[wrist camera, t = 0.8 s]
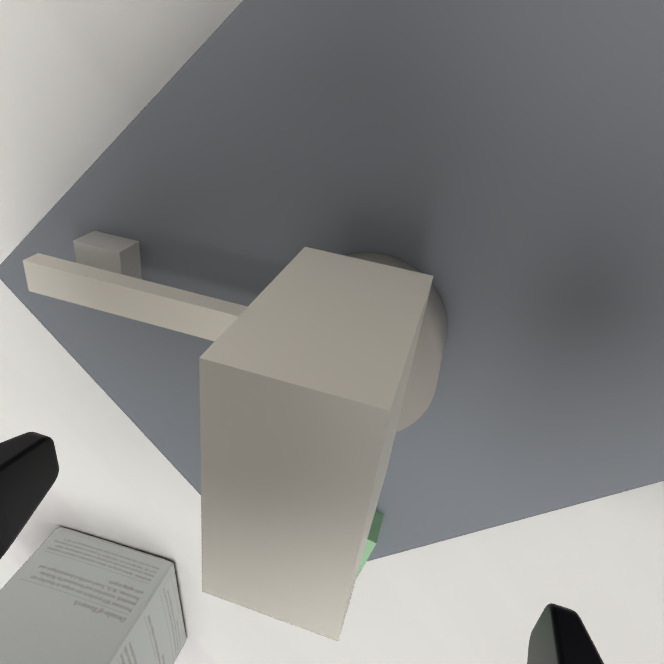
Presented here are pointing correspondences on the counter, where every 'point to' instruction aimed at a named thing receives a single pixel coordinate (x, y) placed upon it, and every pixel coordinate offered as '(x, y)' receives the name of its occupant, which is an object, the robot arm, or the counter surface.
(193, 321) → the tuning peg
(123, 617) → the supplement box
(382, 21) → the dial plate
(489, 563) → the counter surface
